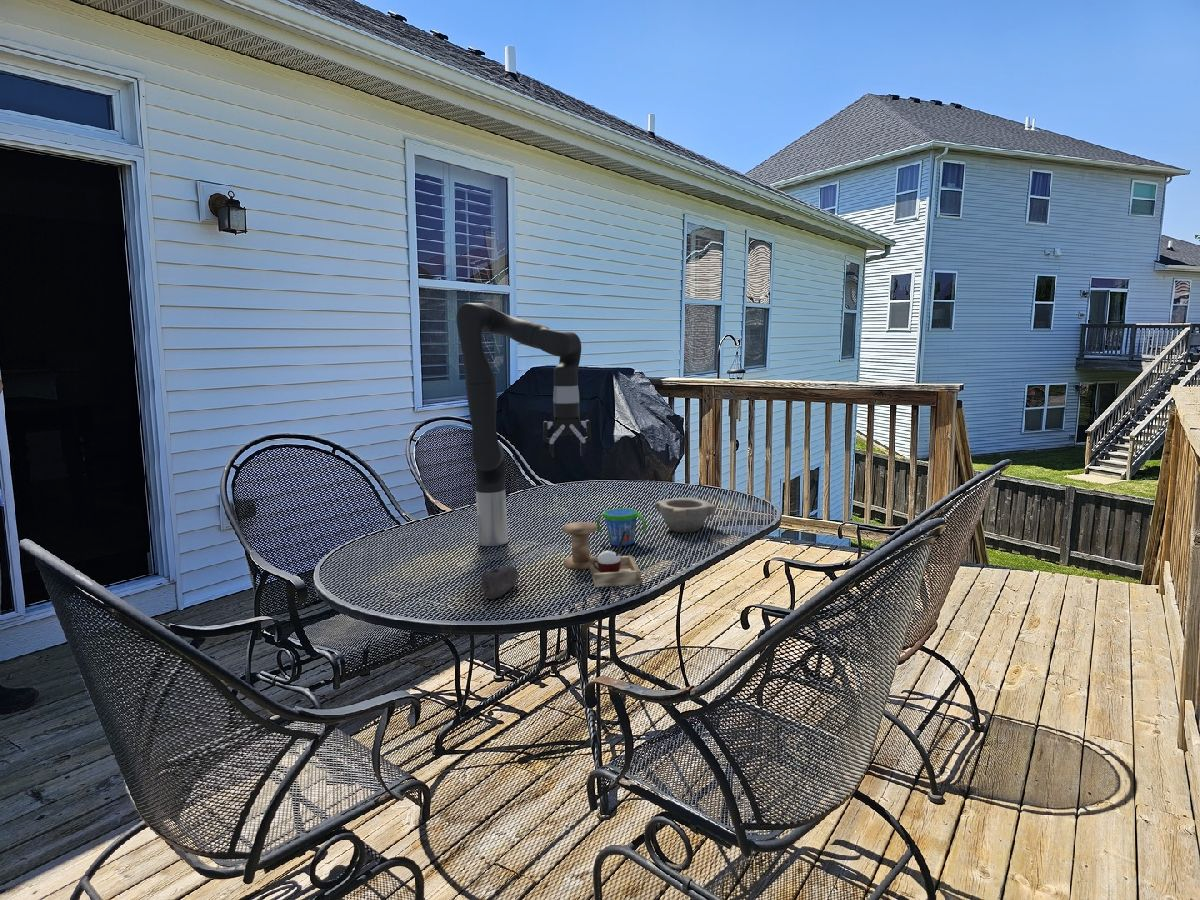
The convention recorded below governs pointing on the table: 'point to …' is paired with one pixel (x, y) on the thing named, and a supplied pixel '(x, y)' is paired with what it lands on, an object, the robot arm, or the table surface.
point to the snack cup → (621, 525)
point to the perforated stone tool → (498, 581)
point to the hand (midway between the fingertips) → (567, 455)
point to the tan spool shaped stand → (579, 544)
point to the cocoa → (610, 559)
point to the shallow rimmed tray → (617, 574)
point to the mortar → (685, 513)
